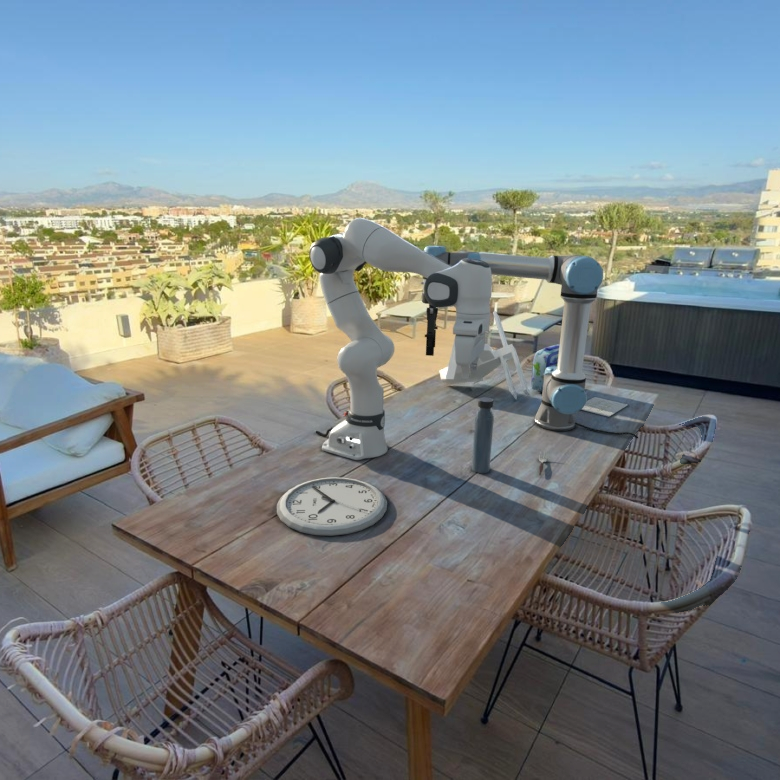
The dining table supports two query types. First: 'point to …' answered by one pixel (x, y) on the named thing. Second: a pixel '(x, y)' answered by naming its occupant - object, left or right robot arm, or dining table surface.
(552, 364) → the lunch box
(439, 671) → the dining table surface
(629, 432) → the right robot arm
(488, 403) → the cap
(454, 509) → the dining table surface
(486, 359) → the white plastic object
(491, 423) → the bottle
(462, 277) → the left robot arm
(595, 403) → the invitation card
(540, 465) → the fork
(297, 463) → the dining table surface
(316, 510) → the wall clock
